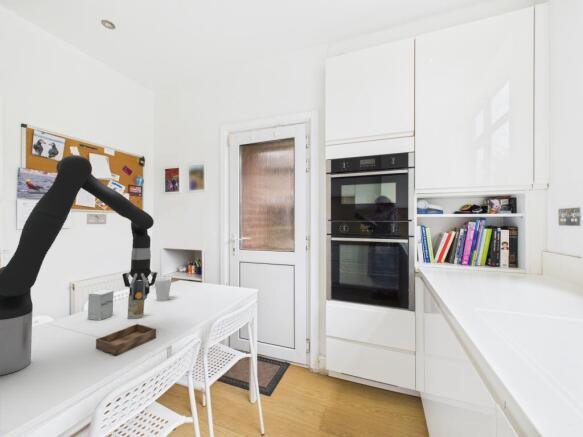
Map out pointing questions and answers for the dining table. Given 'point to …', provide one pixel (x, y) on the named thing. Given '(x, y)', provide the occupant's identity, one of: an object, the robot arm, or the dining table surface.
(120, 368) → the dining table surface
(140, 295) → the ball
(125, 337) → the tray
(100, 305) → the supplement box
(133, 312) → the skincare box
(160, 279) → the foam cup
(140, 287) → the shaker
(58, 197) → the robot arm
